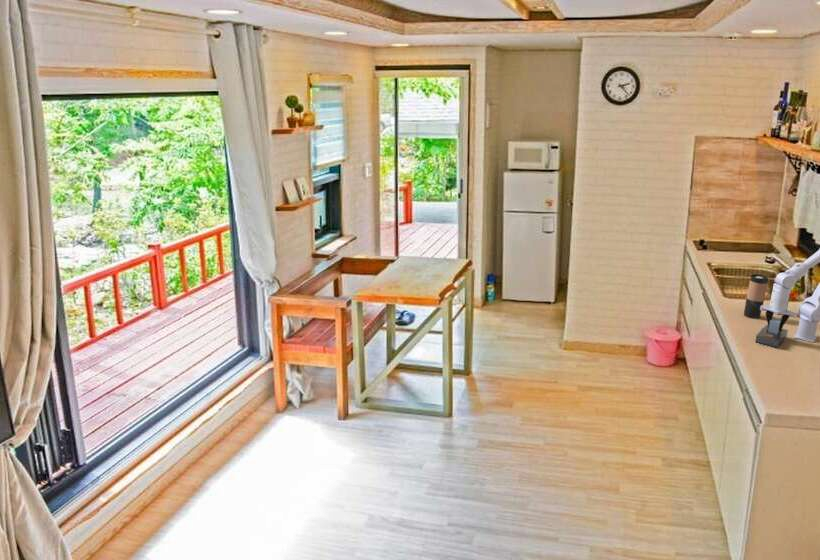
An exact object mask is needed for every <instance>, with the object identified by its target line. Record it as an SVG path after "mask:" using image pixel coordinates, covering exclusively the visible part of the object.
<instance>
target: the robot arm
mask: <svg viewBox="0 0 820 560" xmlns="http://www.w3.org/2000/svg"><path fill="white" fill-rule="evenodd" d="M819 263H820V248H819V249H817V251H816V252H815V253H813V254H812V255H810V256H809V257H808V258H807V259H806V260H805V261H804V262H796V263H795V264H794V265H793V266H791V267H790V268H789V269H787V270H785V271H784V272H780V273H778V274H777V275H776V276H775V277H774V279H773V281H774V284H776V286H775V287H776V290H775V295H774V299H773V304H772V307H770V305H764V304H763V305H761V307H760V310H761V312H762V311H764V312H765V317H766V320H767V325H768V328H769V323H770V320H771V319H772V318H773V316H774V314H775V313H776V314H775V315H777V314H778V315H782V316H781V318H780V319H781V324H780V328H779V331H781V330H782V329H783V328H784V326H785V325H786V324H785V323H786V322H787V321H788V319H790V318H793V319H796V318H797V316H798V314H799V318H800V319H799V321H798V322H799V323H798V327H797V330H796V331H797V332H796V334H794V336H793V338H795V339H799V340H802V341H807V342H811V343H814V342H815V341H816V339H817V338H818V335H816V333H817V329H818V324H819V323H820V282H818V284H817V287H816V288H815V290H814V292H813V294H811V296H809V297H806V298H805V299H804V300H803V302H801V303H799V306H798V308H797V311H798V313H797V312H794V311H790V310H789V309H788V307H787V304H788V305H789V302H788V299H789V300H790V297H789V294H790V295H791V292H790V290H791V291H792V288H793V287H795V285H796V283H797V282H798V281H799V279H801V278H802V277H804V276H805V275H807V274H809V269H812V267H815V266H816V265H818V264H819ZM786 308H787V310H786Z"/></svg>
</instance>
